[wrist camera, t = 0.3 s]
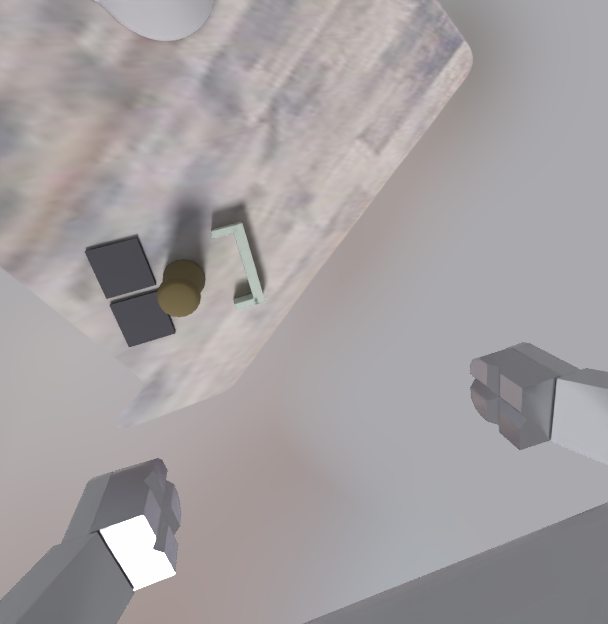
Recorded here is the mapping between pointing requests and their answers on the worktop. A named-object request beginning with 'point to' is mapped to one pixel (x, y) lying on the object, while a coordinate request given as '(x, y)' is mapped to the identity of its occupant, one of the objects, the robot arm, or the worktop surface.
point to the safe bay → (248, 264)
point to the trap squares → (127, 278)
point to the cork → (181, 288)
